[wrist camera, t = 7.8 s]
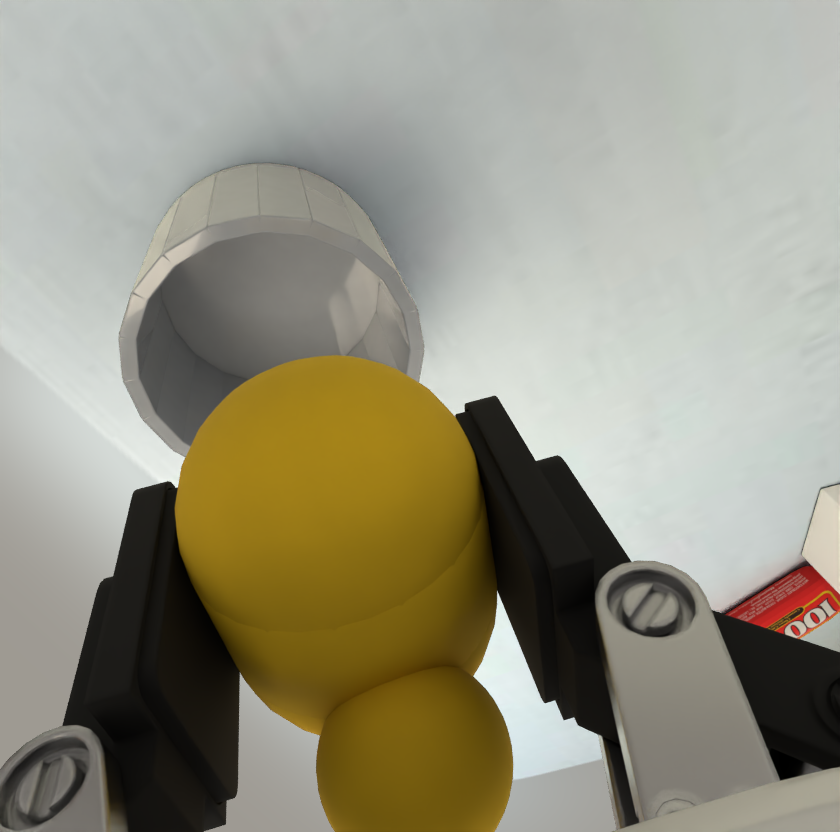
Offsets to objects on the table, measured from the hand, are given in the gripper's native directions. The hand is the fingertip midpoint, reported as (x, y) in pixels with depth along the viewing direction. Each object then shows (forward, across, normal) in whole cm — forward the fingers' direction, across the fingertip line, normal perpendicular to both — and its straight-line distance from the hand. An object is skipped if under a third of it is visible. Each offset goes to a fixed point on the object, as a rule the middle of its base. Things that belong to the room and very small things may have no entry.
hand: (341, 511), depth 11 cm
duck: (+1, 0, 0) cm, 1 cm away
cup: (+17, +1, +2) cm, 17 cm away
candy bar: (+17, -22, +34) cm, 44 cm away
